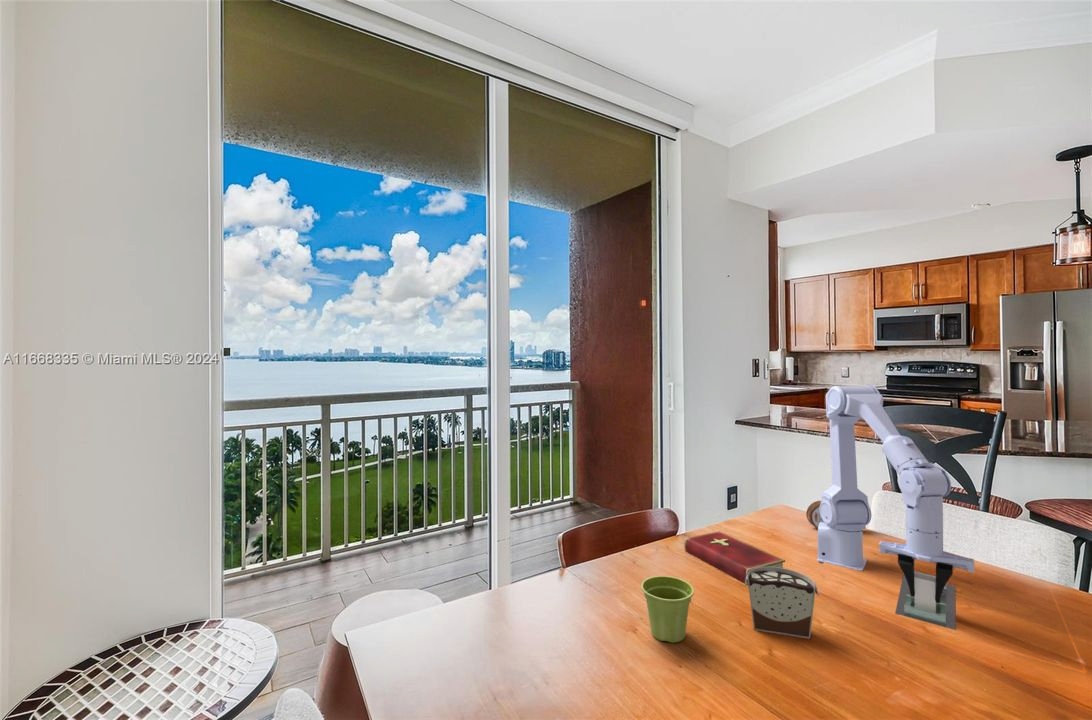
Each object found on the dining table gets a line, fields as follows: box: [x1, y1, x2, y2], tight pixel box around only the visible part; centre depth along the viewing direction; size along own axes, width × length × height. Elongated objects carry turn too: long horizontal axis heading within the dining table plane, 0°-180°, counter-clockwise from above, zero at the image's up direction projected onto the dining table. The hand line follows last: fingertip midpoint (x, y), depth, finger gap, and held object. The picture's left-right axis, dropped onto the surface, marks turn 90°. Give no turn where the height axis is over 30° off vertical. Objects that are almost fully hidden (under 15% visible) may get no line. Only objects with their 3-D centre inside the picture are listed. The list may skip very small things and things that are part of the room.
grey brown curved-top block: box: [744, 567, 820, 639], centre depth 90 cm, size 12×6×10 cm, turn 71°
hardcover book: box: [683, 530, 786, 586], centre depth 118 cm, size 12×21×4 cm, turn 24°
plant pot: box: [640, 575, 695, 644], centre depth 88 cm, size 9×9×9 cm
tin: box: [805, 500, 825, 530], centre depth 140 cm, size 15×3×8 cm, turn 82°
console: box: [894, 570, 957, 631], centre depth 99 cm, size 9×22×2 cm, turn 140°
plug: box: [914, 571, 936, 613], centre depth 94 cm, size 3×4×6 cm
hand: (925, 597), depth 93 cm, fingers closed on plug, 3 cm apart
